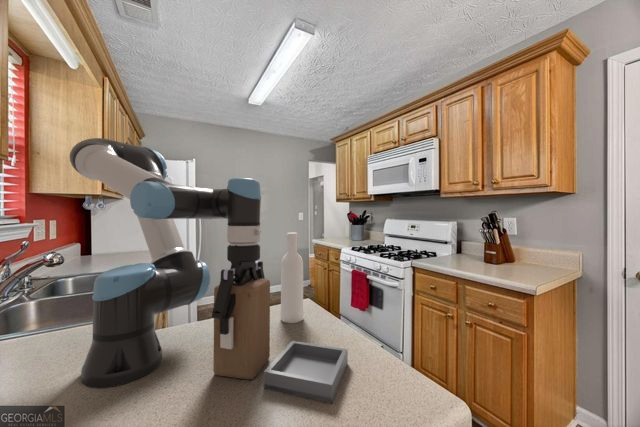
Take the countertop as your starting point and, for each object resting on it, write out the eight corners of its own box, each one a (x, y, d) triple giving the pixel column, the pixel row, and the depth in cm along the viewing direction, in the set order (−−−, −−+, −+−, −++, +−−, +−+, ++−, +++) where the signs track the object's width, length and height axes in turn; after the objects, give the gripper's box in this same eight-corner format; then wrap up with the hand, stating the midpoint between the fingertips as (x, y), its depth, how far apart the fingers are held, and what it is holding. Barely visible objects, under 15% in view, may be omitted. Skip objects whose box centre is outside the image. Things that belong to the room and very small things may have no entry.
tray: (263, 388, 55) (263, 371, 55) (292, 354, 69) (292, 340, 69) (331, 403, 50) (331, 385, 50) (347, 363, 64) (347, 349, 64)
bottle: (281, 324, 88) (282, 233, 88) (279, 316, 95) (279, 232, 96) (305, 322, 90) (305, 233, 91) (301, 314, 98) (301, 232, 98)
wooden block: (253, 382, 57) (253, 288, 57) (211, 376, 59) (212, 285, 59) (271, 358, 67) (271, 278, 67) (234, 354, 69) (235, 276, 69)
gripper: (224, 250, 51) (223, 364, 50) (280, 240, 74) (280, 319, 73) (193, 248, 53) (191, 358, 53) (256, 239, 76) (256, 316, 76)
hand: (243, 335), depth 63 cm, fingers open, 12 cm apart
